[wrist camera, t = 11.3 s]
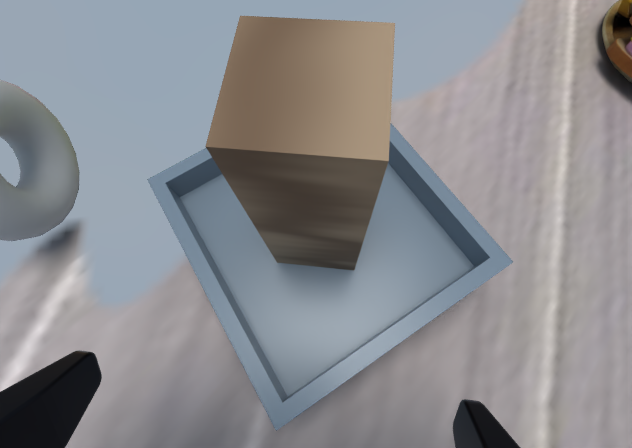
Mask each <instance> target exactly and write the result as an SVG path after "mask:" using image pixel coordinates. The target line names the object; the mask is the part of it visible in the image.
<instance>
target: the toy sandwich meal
mask: <svg viewBox="0 0 632 448" xmlns="http://www.w3.org/2000/svg"><path fill="white" fill-rule="evenodd" d="M602 36H603V41H604V45H605V50H606V52H607V55H608V57H609V59H610V61H611V62H612V64H613V65H614V67H615V68H616V69H617V70H618V71H619V72H620V73H621V74H622V75H623V76H624V77H625V78H626V79H627V80H629V81H630V82H631V83H632V0H619V1H617V2H616V3H615V4H614V5H613V6H612V7H611V8H610V9H609V11H608V12H607V14H606V16H605V18H604V21H603V27H602Z"/></svg>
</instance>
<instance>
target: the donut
mask: <svg viewBox="0 0 632 448" xmlns="http://www.w3.org/2000/svg"><path fill="white" fill-rule="evenodd" d="M0 137H1V138H2V139H4V140H5V141H6V142H7V143H8V144H9V145H10V147H11V148H12V149H13V151H14V153H15V155H16V157H17V159H18V161H19V166H20V171H21V173H20V180H19V182H18V185H17V186H16V187H14V186H13V185H11V184H10V183H9V182H7V181H6V180H5V179H4V178H3V176H2V175H1V174H0V240H6V241H16V240H21V239H27V238H32V237H37V236H40V235H43V234H44V233H46V232H48V231H49V230H51V229H52V228H54V227H56V226H57V225H59V224H60V223H61V222H62V221H63V220H64V219H65V217H66V216H67V215H68V213H69V212H70V211H71V209H72V208H73V205H74V203H75V199H76V196H77V193H78V190H79V168H78V163H77V158H76V153H75V151H74V148H73V146H72V144H71V141H70V139H69V137H68V135H67V133H66V131H65V130H64V128H63V127H62V125H61V124H60V122H59V121H58V119H57V118H56V117H55V116H54V115H53V114H52V113H51V112H50V111H49V110H48V109H47V108H46V107H45V106H44V105H43V104H42V103H41V102H40V101H39V100H38V99H37V98H35V97H33V96H32V95H30V94H29V93H27V92H26V91H24V90H23V89H21V88H20V87H18V86H16V85H14V84H11V83H8V82H5V81H2V80H0Z"/></svg>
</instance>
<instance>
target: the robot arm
mask: <svg viewBox="0 0 632 448" xmlns="http://www.w3.org/2000/svg"><path fill="white" fill-rule="evenodd" d="M101 378H102V375H101V371H100V368H99V365H98V362H97V358H96V356H95V354H94V353H92V352H86V351H75V352H73V353H71V354H69V355H67V356H65V357H63V358H62V359H60V360H58V361H56V362H54V363H52V364H51V365H49V366H47V367H45V368H43V369H41V370H40V371H38V372H36V373H34V374H32V375H30V376H29V377H27V378H25V379H23V380H21V381H19V382H18V383H16V384H14V385H12V386H10V387H8V388H7V389H5V390H3V391H1V392H0V448H65V447H66V445H67V443H68V441H69V440H70V438H71V436H72V434H73V433H74V431H75V429H76V427H77V425H78V423H79V422H80V420H81V418H82V416H83V414H84V412H85V411H86V409H87V407H88V405H89V403H90V402H91V400H92V398H93V396H94V394H95V392H96V391H97V389H98V387H99V385H100V382H101ZM453 434H454V441H455V447H456V448H520V447H519V446H518V444H517V443H516V442H515V441H514V440H513V439H512V437H511V436H510V435H509V434H508V433H507V431H506V430H505V429H504V428H503V427H502V426H501V424H500V423H499V422H498V421H497V420H496V419H495V417H494V416H493V415H492V414H491V413H490V412H489V410H488V409H487V408H486V407H485V406H484V405H483V404H482V403H481V402H479V401H473V400H462V401H461V402H460V405H459V407H458V410H457V413H456V416H455V419H454V422H453Z"/></svg>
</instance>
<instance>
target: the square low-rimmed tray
mask: <svg viewBox="0 0 632 448" xmlns="http://www.w3.org/2000/svg"><path fill="white" fill-rule="evenodd" d="M148 182H149V184H150V186H151V188H152V189H153V191H154V194H155V196H156V198H157V199H158V201H159V203H160V205H161V207H162V209H163V211H164V213H165V215H166V217H167V219H168V221H169V223H170V225H171V227H172V229H173V231H174V232H175V235H176V236H177V238H178V240H179V242H180V244H181V246H182V248H183V250H184V252H185V254H186V256H187V258H188V260H189V262H190V264H191V266H192V268H193V270H194V272H195V274H196V275H197V277H198V279H199V281H200V283H201V285H202V287H203V289H204V291H205V293H206V295H207V297H208V299H209V301H210V303H211V305H212V307H213V309H214V311H215V313H216V314H217V316H218V318H219V320H220V322H221V324H222V326H223V328H224V330H225V332H226V334H227V336H228V338H229V340H230V342H231V344H232V346H233V348H234V350H235V352H236V353H237V355H238V357H239V359H240V361H241V363H242V365H243V367H244V369H245V371H246V373H247V375H248V377H249V379H250V381H251V383H252V385H253V387H254V389H255V391H256V392H257V394H258V396H259V398H260V400H261V402H262V404H263V406H264V408H265V410H266V412H267V414H268V416H269V418H270V420H271V422H272V424H273V426H274V428H275V430H276V431H277V430H278V429H279V428H281V427H282V426H284V425H285V424H286V423H288V422H289V421H291V420H292V419H293V418H295V417H296V416H298V415H299V414H301V413H302V412H303V411H305V410H306V409H308V408H309V407H310V406H312V405H313V404H315V403H316V402H317V401H319V400H320V399H322V398H323V397H324V396H326V395H327V394H329V393H330V392H331V391H333V390H334V389H336V388H337V387H338V386H340V385H341V384H343V383H344V382H345V381H347V380H348V379H350V378H351V377H353V376H354V375H355V374H357V373H358V372H360V371H361V370H362V369H364V368H365V367H367V366H368V365H369V364H371V363H372V362H374V361H375V360H376V359H378V358H379V357H381V356H382V355H383V354H385V353H386V352H388V351H389V350H390V349H392V348H393V347H395V346H396V345H398V344H399V343H400V342H402V341H403V340H405V339H406V338H407V337H409V336H410V335H412V334H413V333H414V332H416V331H417V330H419V329H420V328H421V327H423V326H424V325H426V324H427V323H428V322H430V321H431V320H433V319H434V318H435V317H437V316H438V315H440V314H441V313H442V312H444V311H445V310H447V309H448V308H450V307H451V306H452V305H454V304H455V303H457V302H458V301H459V300H461V299H462V298H464V297H465V296H466V295H468V294H469V293H471V292H472V291H473V290H475V289H476V288H478V287H479V286H480V285H482V284H483V283H485V282H486V281H487V280H489V279H490V278H492V277H493V276H495V275H496V274H497V273H499V272H500V271H502V270H503V269H504V268H506V267H507V266H509V265H510V264H511V263H513V261H512V260H511V259H510V258H509V257H508V255H507V254H506V253H505V252H504V251H503V250H502V249H501V247H500V246H499V245H498V244H497V243H496V242H495V241H494V240H493V238H492V237H491V236H490V235H489V234H488V233H487V232H486V230H485V229H484V228H483V227H482V226H481V225H480V224H479V223H478V221H477V220H476V219H475V218H474V217H473V216H472V215H471V213H470V212H469V211H468V210H467V209H466V208H465V207H464V205H463V204H462V203H461V202H460V201H459V200H458V199H457V198H456V196H455V195H454V194H453V193H452V192H451V191H450V190H449V188H448V187H447V186H446V185H445V184H444V183H443V182H442V181H441V179H440V178H439V177H438V176H437V175H436V174H435V173H434V171H433V170H432V169H431V168H430V167H429V166H428V165H427V164H426V162H425V161H424V160H423V159H422V158H421V157H420V156H419V154H418V153H417V152H416V151H415V150H414V149H413V148H412V147H411V145H410V144H409V143H408V142H407V141H406V140H405V139H404V137H403V136H402V135H401V134H400V133H399V132H398V131H397V129H396V128H395V127H394V126H393V125H392V124H391V123H390V143H389V162H388V165H387V168H386V171H385V174H384V177H383V181H382V184H381V187H380V190H379V193H378V197H377V200H376V203H375V206H374V209H373V212H372V216H371V219H370V222H369V225H368V228H367V232H366V235H365V238H364V241H363V244H362V247H361V251H360V254H359V257H358V260H357V263H356V266H355V270H344V269H335V268H325V267H315V266H306V265H296V264H286V263H277V262H276V260H275V259H274V257H273V255H272V254H271V252H270V250H269V249H268V247H267V246H266V244H265V242H264V241H263V239H262V237H261V236H260V234H259V233H258V231H257V229H256V228H255V226H254V224H253V223H252V221H251V220H250V218H249V216H248V215H247V213H246V211H245V210H244V208H243V207H242V205H241V203H240V202H239V200H238V199H237V197H236V195H235V194H234V192H233V190H232V189H231V187H230V186H229V184H228V182H227V181H226V179H225V177H224V176H223V174H222V173H221V171H220V169H219V168H218V166H217V164H216V163H215V161H214V160H213V158H212V156H211V155H210V153H209V151H208V150H207V148H205V149H203V150H201V151H199V152H198V153H196V154H194V155H192V156H190V157H188V158H186V159H185V160H183V161H181V162H179V163H177V164H175V165H173V166H172V167H170V168H168V169H166V170H164V171H162V172H160V173H158V174H157V175H155V176H153V177H151V178H150V179H148Z"/></svg>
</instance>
